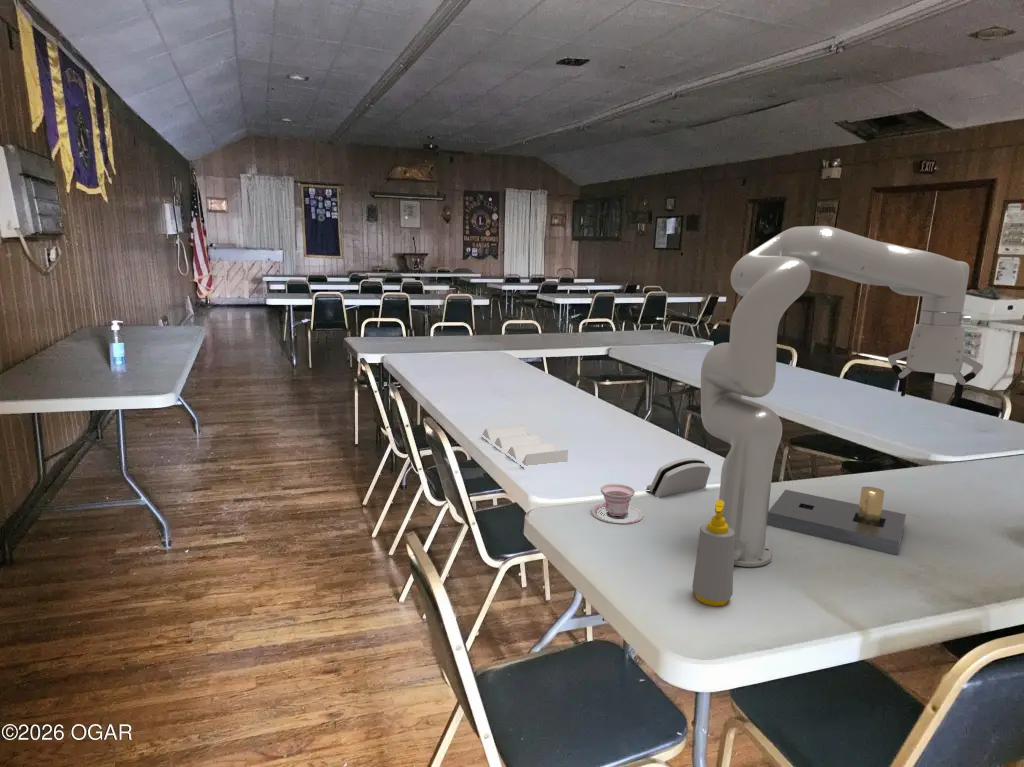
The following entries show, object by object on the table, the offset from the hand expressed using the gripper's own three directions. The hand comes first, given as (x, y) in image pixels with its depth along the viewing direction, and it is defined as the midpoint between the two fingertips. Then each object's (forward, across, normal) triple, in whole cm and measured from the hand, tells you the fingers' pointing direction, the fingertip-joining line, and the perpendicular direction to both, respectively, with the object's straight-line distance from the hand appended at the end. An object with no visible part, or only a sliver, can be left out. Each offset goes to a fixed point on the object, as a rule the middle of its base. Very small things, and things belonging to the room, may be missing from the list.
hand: (928, 398), depth 144 cm
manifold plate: (+30, +14, +8) cm, 34 cm away
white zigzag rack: (+31, +102, +4) cm, 107 cm away
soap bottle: (+31, +27, +57) cm, 70 cm away
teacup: (+31, +57, +32) cm, 72 cm away
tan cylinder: (+30, +8, +8) cm, 32 cm away
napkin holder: (+31, +51, +8) cm, 60 cm away
